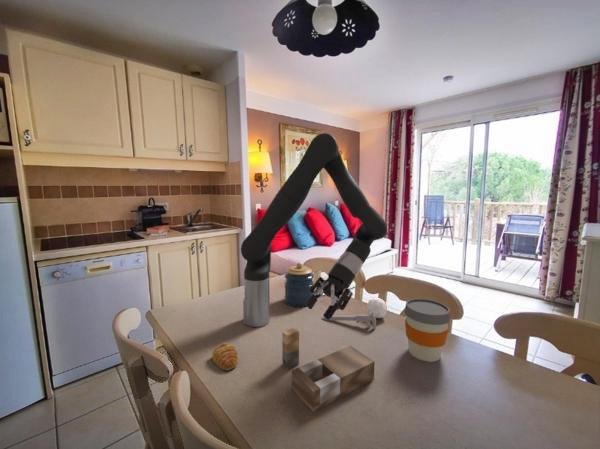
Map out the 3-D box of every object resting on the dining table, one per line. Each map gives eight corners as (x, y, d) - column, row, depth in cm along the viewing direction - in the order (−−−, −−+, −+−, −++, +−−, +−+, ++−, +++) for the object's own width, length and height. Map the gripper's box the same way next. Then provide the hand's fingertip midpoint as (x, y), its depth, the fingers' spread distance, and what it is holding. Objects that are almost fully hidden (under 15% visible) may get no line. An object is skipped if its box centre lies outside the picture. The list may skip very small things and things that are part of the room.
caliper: (375, 328, 101) (376, 312, 100) (375, 330, 100) (376, 313, 99) (322, 318, 109) (322, 303, 108) (321, 319, 108) (321, 304, 107)
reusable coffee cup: (402, 360, 82) (405, 311, 80) (402, 338, 94) (404, 296, 92) (450, 369, 78) (454, 318, 76) (444, 346, 90) (447, 301, 88)
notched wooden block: (312, 412, 63) (313, 391, 62) (291, 388, 70) (291, 370, 70) (373, 379, 74) (374, 361, 73) (349, 361, 81) (350, 345, 81)
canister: (283, 296, 131) (283, 259, 129) (311, 295, 132) (311, 258, 130) (285, 307, 118) (285, 267, 116) (315, 306, 119) (316, 266, 117)
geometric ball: (375, 320, 113) (379, 301, 116) (389, 322, 106) (393, 301, 109) (360, 313, 110) (365, 294, 114) (374, 314, 103) (378, 293, 107)
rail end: (287, 369, 78) (287, 335, 77) (282, 364, 80) (282, 331, 79) (299, 364, 80) (299, 331, 79) (294, 359, 82) (294, 327, 81)
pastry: (243, 366, 79) (243, 354, 79) (220, 375, 75) (219, 362, 75) (232, 351, 87) (231, 339, 86) (210, 358, 83) (209, 346, 83)
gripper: (325, 257, 92) (296, 298, 87) (356, 267, 81) (324, 315, 76) (337, 270, 96) (309, 310, 91) (368, 282, 84) (339, 328, 79)
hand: (316, 312), depth 83 cm, fingers open, 8 cm apart
